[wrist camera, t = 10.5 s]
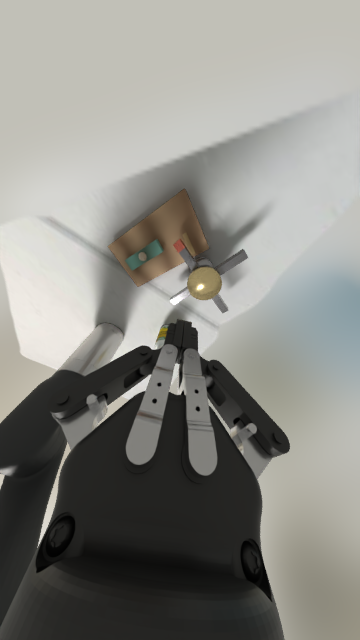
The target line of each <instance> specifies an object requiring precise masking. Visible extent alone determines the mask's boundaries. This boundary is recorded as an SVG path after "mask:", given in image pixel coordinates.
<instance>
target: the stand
mask: <svg viewBox="0 0 360 640" xmlns="http://www.w3.org/2000/svg"><path fill="white" fill-rule="evenodd" d="M180 238H181V239H182V241H183V242H184V244H185V245H186V247H187V249H188V250H189V252H190V253H191V255H192V256H193V257H194V256H196V255H198V254H200V253H202V252H204V251H206V250H207V249H209V246H208V243H207V241H206V238H205V236H204V234H203V231H202V229H201V226H200V224H199V221H198V219H197V216H196V214H195V211H194V209H193V206H192V204H191V201H190V199H189V197H188V194H187V192H186V190H185V189H183V190H182V191H180V192H179V193H178V194H177V195H175V196H174V197H173V198H171V199H170V200H169V201H167V202H166V203H165V204H163V205H162V206H161V207H159V208H158V209H157V210H155V211H154V212H153V213H151V214H150V215H149V216H147V217H146V218H145V219H143V220H142V221H141V222H139V223H138V224H137V225H135V226H134V227H133V228H131V229H130V230H129V231H128V232H126V233H125V234H124V235H122V236H121V237H120V238H118V239H117V240H116V241H114V242H113V243H112V244H110V245H109V246H108V247H109V249H110V250H111V251H112V253H113V254H114V255H115V257H116V258H117V260H118V261H119V262H120V264H121V265H122V266H123V268H124V269H125V270H126V272H127V273H128V274H129V276H130V277H131V279H132V280H133V281H134V283H135V284H136V285H137V287H139V286H141V285H143V284H145V283H146V282H148V281H150V280H152V279H154V278H156V277H158V276H159V275H161V274H163V273H165V272H167V271H169V270H170V269H172V268H174V267H176V266H178V265H180V264H182V263H183V262H185V261H184V259H183V258H182V257H181V255H180V254H179V253H178V252H177V250H176V249H175V248H174V246H173V244H174V243H175V242H176V241H178V240H179V239H180Z"/></svg>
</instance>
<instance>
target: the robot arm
mask: <svg viewBox="0 0 360 640" xmlns="http://www.w3.org/2000/svg"><path fill="white" fill-rule="evenodd" d="M191 326H192V322H189V321H184V320H179V319H177V322H176V324H174V323H171V324H170V325H169V326H168V329H167V333H166V337H165V342H164V345H163V347H161V348H160V349H156V350H152V349H151V348H150V347H148V346H140V347H138V348H136V349H134V350H132V351H130V352H128V353H126V354H125V355H123V356H121V357H119V358H117V359H115V360H114V361H112V362H110V361H111V359H112V357H113V356H114V354H115V352H116V351H117V349H118V348H119V346H120V344H121V343H122V341H123V339H124V336H123V333H122V332H121V330H120V329H119V328H117V327H116V326H114V325H112V324H108V323H102V324H99V325H98V326H97V327H96V328H95V329H94V330H93V332H92V333H91V334H90V335H89V336H88V337H87V338H86V339H85V340H84V342H83V343H82V344H81V345H80V346H79V347H78V348H77V349H76V350H75V351H74V353H73V354H72V355H71V356H70V357H69V358H68V359H67V360H66V362H65V363H64V364H63V365H62V366H61V367H60V368H59V369H58V370H57V372H56V373H55V374H54V375H53V376H52V377H50V378H49V379H47V380H45V381H44V382H42V383H41V384H40V385H38V386H37V388H35V389H34V390H33V391H32V392H31V393H30V394H29V395H28V396H27V397H26V398H25V399H24V400H23V401H22V402H21V403H20V404H19V405H18V406H17V407H16V408H15V409H14V410H13V411H12V412H11V413H10V414H9V415H8V416H7V417H6V418H5V419H4V420H3V421H2V422H1V423H0V474H4V475H5V477H4V480H3V484H2V486H1V489H0V640H284V635H283V630H282V625H281V621H280V618H279V613H278V610H277V607H276V603H275V600H274V597H273V594H272V590H271V587H270V583H269V580H268V576H267V573H266V570H265V566H264V562H263V557H262V552H261V542H260V522H261V514H262V495H261V491H260V486H259V483H258V481H257V479H258V477H259V476H260V475H261V473H262V472H263V470H264V469H265V468H266V466H267V465H268V463H269V462H270V461H271V459H272V458H274V457H277V456H279V455H282V454H285V453H287V452H288V451H289V449H290V444H289V440H288V438H287V436H286V435H285V433H284V432H283V431H282V430H281V429H280V428H279V426H277V424H276V423H275V422H274V421H273V420H272V419H271V418H270V417H269V415H268V414H267V413H266V412H265V411H264V410H263V409H262V408H261V407H260V406H259V404H258V403H257V402H256V401H255V400H254V399H253V398H252V397H251V396H250V394H249V393H248V392H247V391H246V390H245V389H244V388H243V387H242V386H241V384H239V382H238V381H237V380H236V379H235V378H234V377H233V376H232V375H231V373H230V372H229V371H228V370H227V369H226V368H225V367H224V366H223V365H222V364H221V363H220V362H219V361H217V360H211V361H207V360H205V359H203V358H202V357H201V356H200V355H199V353H198V332H197V330H196V328H193V327H191ZM177 359H178V360H177ZM109 362H110V363H109ZM175 363H178V364H180V365H179V370H178V391H177V395H175V394H172V393H171V392H169V389H170V384H171V380H172V376H173V370H174V366H175ZM150 374H152V375H151V378H150V380H149V383H148V386H147V389H146V391H143V392H141V393H139V394H137V395H135V396H134V397H132V398H131V399H130V400H129V401H128V402H127V403H125V404H124V405H123V406H122V407H120V408H119V409H118V410H117V411H116V412H114V413H113V414H112V415H111V416H110V417H108V418H107V419H106V420H105V421H104V422H102V423H101V424H100V425H99V426H98V427H96V426H97V425H98V423H99V422H100V421H101V420H102V419H103V418H104V416H105V415H106V413H107V409H108V407H107V406H108V405H109V404H110V403H112V402H113V401H114V400H116V399H117V398H118V397H120V396H121V395H123V394H124V393H125V392H127V391H128V390H130V389H131V388H132V387H134V386H135V385H136V384H138V383H139V382H141V381H142V380H143V379H145V378H146V377H147V376H148V375H150ZM207 397H208V398H207ZM208 399H209V400H210V401H211V403H212V404H213V406H214V407H215V408H216V410H217V411H218V413H219V414H220V415H221V417H222V418H223V420H224V421H225V423H226V424H227V425H228V427H229V428H230V435H229V434H228V432H227V431H226V429H225V427H224V426H223V424H222V423H221V421H220V420H219V418H218V417H217V415H216V414H215V412H214V411H213V409H212V408H211V407H210V406H209V405H208ZM230 436H231V437H230ZM67 441H68V444H69V446H70V449H71V452H70V453H69V455H68V456H67V458H66V460H65V462H64V464H63V466H62V469H61V472H60V476H59V484H58V494H57V500H56V504H55V508H54V511H53V514H52V517H51V520H50V523H49V525H48V528H47V530H46V532H45V534H44V536H43V538H42V540H41V542H40V544H39V546H38V542H39V538H40V533H41V528H42V524H43V519H44V515H45V512H46V508H47V504H48V501H49V497H50V494H51V491H52V488H53V484H54V482H55V478H56V475H57V472H58V469H59V466H60V463H61V460H62V457H63V454H64V451H65V448H66V445H67ZM37 546H38V548H37Z"/></svg>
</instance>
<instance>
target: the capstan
mask: <svg viewBox="0 0 360 640" xmlns="http://www.w3.org/2000/svg"><path fill="white" fill-rule="evenodd" d="M173 246H174V248H175V249H176V250H177V252H178V253H179V254H180V255H181V257H182V258H183V259H184V261H185V262H186V264H187V265H188V266H189V268H190V276H189V278H188V282H187V287H186V288H184V289H183V290H181V291H180V292H179V293H177V294H176V295H174V296H173V297H171V298H170V302H171V303H172V304H173V305H175V304H176V303H178V302H180V301H181V300H183V299H184V298H186V297H187V296H189V295H192V296H193V297H194V298H196V299H199V300H209V299H211V298H212V299H213V301H214V302H215V304H216V305H217V306H218V308H219V309H220V311H221V312H222V313H224V312H226V311H228V307H227V306H226V304H225V303H224V301H223V300H222V298H221V297H220V295H219V294H218V293H219V291H220V289H221V286H222V281H221V277H220V275H222V274H223V273H225V272H227V271H228V270H230V269H231V268H233V267H234V266H236V265H237V264H239V263H241V262H242V261H244V260H245V259H247V258H248V256H247V254H246V253H245V251H244V250H243V249H242V250H240V251H239V252H238V253H236V254H235V255H233V256H232V257H230V258H229V259H227V260H226V261H224V262H223V263H221V264H220V265H218V266H217V267H215V268H213V265H212V262H211V261H210V260H209V259H208V258H205V257H199V258H197V259H194V257H193V256H192V255H191V253H190V252H189V250H188V249H187V247H186V245H185V244H184V242H183V241H182V239H181V238H180V239H179V240H178V241H176V242H175V243H174V244H173Z"/></svg>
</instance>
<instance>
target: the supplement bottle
mask: <svg viewBox="0 0 360 640" xmlns="http://www.w3.org/2000/svg"><path fill="white" fill-rule="evenodd" d="M168 326H169V325H165V326H163V327H162V328H161V329H160V332H159V335H158V337H157V340H156V343H155V349H160V348H161V347H163V345H164V342H165V337H166V333H167V329H168Z"/></svg>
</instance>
